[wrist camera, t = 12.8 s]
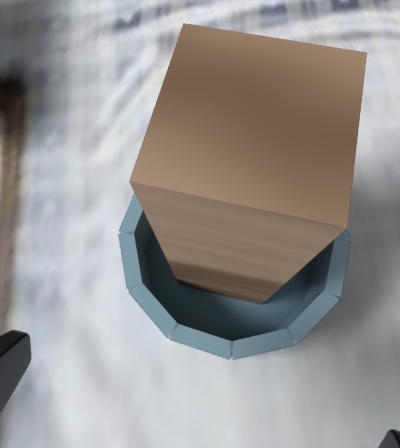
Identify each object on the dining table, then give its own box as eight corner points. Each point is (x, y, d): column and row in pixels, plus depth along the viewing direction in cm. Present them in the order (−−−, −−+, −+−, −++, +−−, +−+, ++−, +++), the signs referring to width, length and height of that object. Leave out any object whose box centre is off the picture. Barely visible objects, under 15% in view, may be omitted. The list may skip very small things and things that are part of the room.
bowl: (155, 375, 20) (140, 382, 16) (125, 195, 24) (107, 162, 20) (348, 329, 21) (383, 324, 17) (289, 160, 25) (305, 121, 21)
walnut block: (261, 305, 21) (346, 227, 8) (179, 285, 21) (129, 181, 8) (275, 227, 22) (367, 52, 9) (199, 210, 23) (183, 23, 10)
